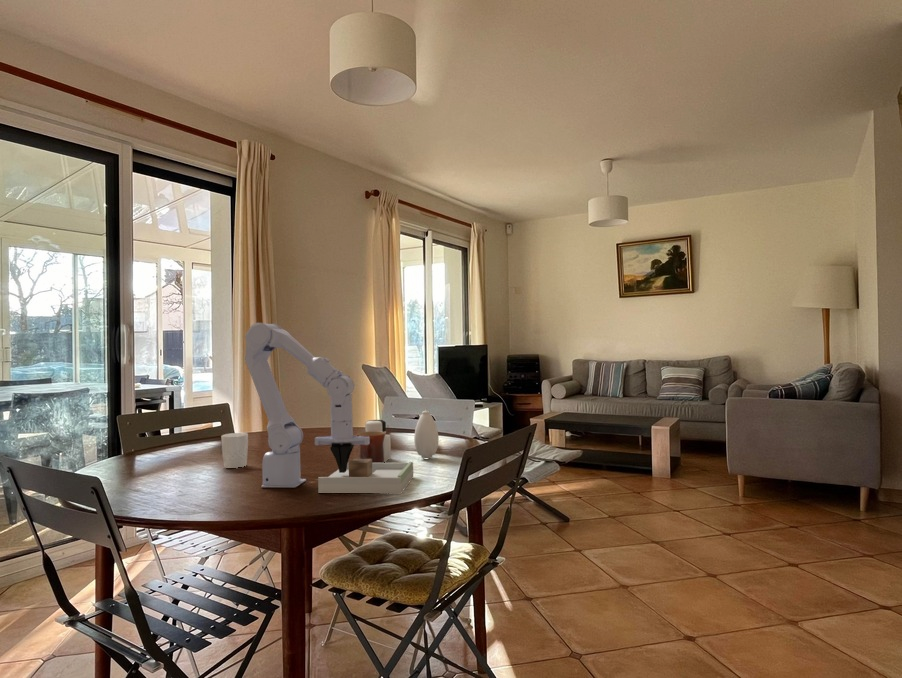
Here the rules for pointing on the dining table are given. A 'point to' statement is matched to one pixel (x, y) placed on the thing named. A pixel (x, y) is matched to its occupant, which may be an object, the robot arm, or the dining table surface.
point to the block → (360, 468)
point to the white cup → (234, 449)
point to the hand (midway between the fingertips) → (342, 471)
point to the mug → (373, 446)
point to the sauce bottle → (426, 435)
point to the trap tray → (369, 480)
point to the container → (380, 426)
